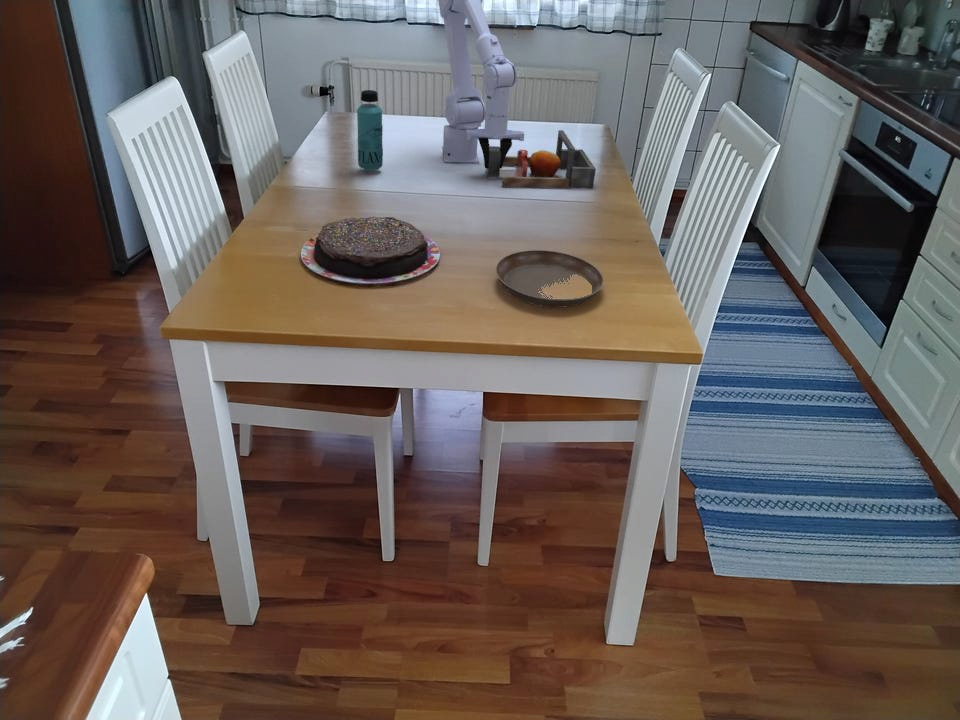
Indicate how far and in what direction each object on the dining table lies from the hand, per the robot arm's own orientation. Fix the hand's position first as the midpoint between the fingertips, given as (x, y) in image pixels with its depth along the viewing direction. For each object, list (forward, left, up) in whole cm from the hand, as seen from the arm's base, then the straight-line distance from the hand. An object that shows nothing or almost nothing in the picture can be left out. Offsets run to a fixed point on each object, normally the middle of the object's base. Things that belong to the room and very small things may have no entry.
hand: (493, 167), depth 195 cm
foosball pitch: (+13, 0, -2) cm, 13 cm away
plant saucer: (+4, -62, -3) cm, 62 cm away
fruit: (+14, 0, -2) cm, 14 cm away
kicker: (+4, 0, -2) cm, 4 cm away
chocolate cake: (-30, -49, -3) cm, 58 cm away
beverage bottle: (-31, +1, -2) cm, 32 cm away
